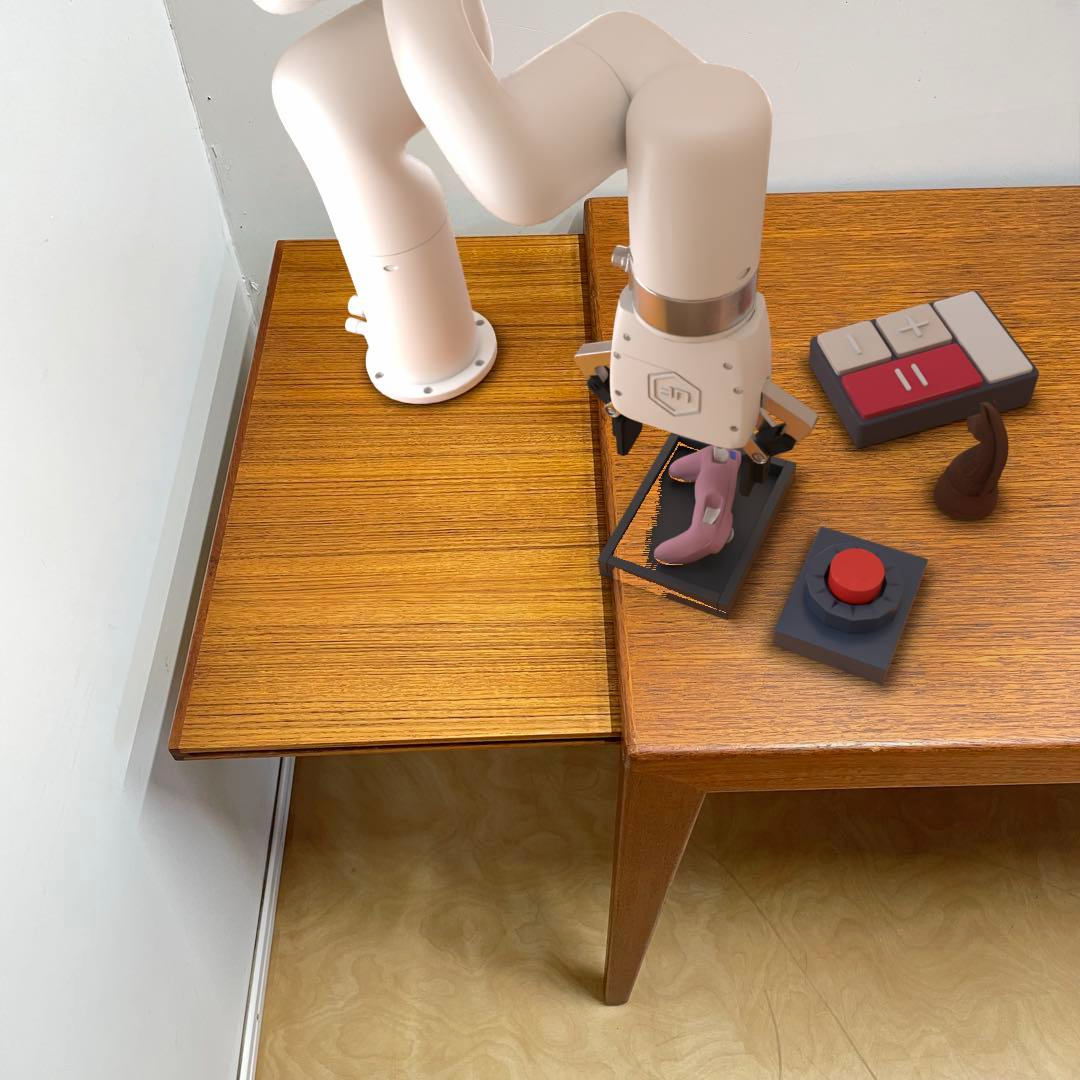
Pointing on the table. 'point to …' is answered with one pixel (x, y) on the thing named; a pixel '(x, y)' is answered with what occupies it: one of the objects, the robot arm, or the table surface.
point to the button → (856, 576)
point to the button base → (849, 609)
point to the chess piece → (975, 469)
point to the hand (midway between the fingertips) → (689, 461)
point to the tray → (713, 574)
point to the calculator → (921, 368)
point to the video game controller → (704, 504)
